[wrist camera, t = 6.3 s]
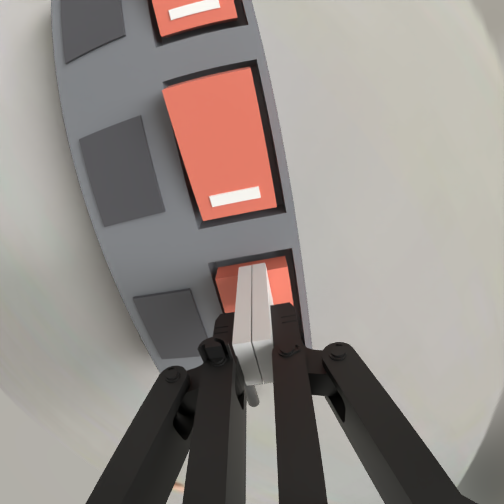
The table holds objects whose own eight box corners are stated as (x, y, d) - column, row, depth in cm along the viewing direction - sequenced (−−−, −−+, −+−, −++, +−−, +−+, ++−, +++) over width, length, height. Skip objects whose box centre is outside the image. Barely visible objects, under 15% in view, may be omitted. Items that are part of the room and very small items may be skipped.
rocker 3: (243, 356, 22) (243, 371, 21) (217, 267, 19) (214, 280, 18) (299, 347, 22) (301, 362, 21) (285, 255, 19) (287, 267, 17)
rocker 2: (205, 207, 19) (202, 222, 17) (168, 86, 14) (161, 90, 12) (273, 193, 18) (277, 207, 17) (249, 66, 13) (250, 68, 12)
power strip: (199, 402, 31) (195, 432, 27) (76, -9, 13) (49, -23, 9) (312, 389, 30) (318, 419, 26) (228, -62, 12) (224, -90, 8)
